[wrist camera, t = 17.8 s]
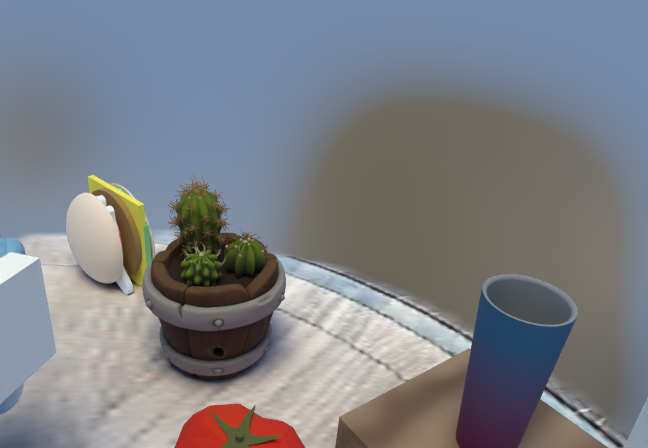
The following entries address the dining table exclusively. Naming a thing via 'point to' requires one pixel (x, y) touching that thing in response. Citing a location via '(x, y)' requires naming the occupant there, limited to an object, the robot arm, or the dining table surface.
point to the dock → (442, 416)
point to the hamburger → (110, 234)
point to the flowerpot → (212, 291)
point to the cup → (511, 358)
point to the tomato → (235, 430)
